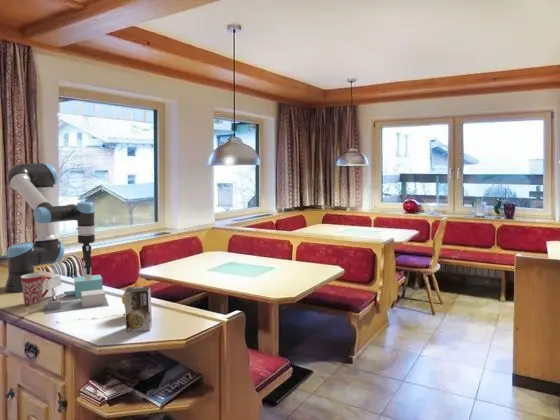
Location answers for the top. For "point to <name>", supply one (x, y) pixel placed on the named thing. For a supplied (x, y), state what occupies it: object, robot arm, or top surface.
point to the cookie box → (138, 309)
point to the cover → (86, 285)
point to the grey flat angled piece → (53, 286)
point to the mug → (33, 288)
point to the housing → (78, 302)
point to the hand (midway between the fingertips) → (87, 277)
